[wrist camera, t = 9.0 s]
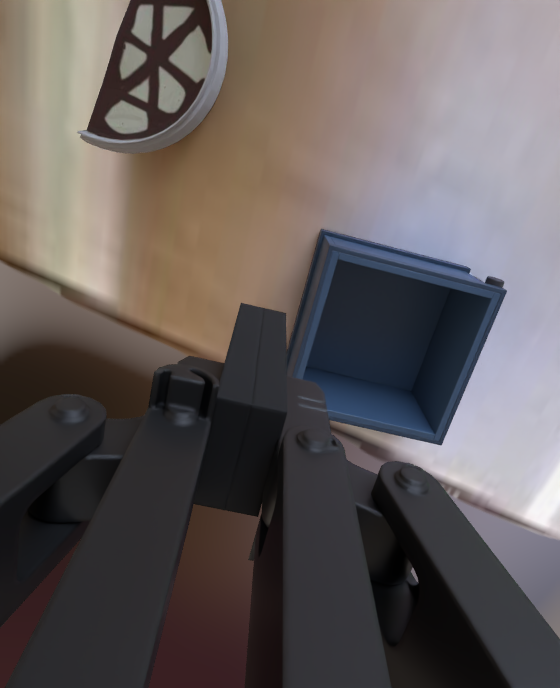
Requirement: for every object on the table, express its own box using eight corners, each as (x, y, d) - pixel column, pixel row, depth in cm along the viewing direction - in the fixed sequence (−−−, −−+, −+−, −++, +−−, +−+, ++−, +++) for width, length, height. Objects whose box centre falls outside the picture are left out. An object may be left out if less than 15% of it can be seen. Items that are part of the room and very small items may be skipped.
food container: (198, 183, 39) (172, 191, 30) (124, 145, 38) (73, 141, 29) (267, 20, 35) (263, -28, 26) (188, -27, 35) (153, -95, 25)
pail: (331, 239, 33) (517, 287, 34) (322, 223, 40) (475, 263, 42) (281, 414, 38) (446, 451, 39) (281, 371, 45) (420, 403, 46)
